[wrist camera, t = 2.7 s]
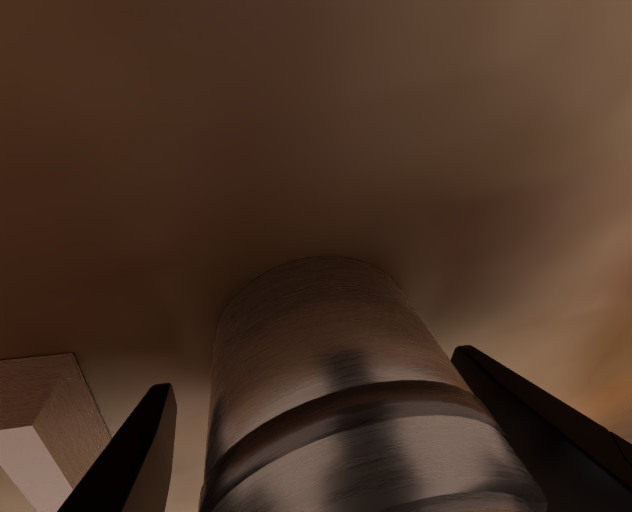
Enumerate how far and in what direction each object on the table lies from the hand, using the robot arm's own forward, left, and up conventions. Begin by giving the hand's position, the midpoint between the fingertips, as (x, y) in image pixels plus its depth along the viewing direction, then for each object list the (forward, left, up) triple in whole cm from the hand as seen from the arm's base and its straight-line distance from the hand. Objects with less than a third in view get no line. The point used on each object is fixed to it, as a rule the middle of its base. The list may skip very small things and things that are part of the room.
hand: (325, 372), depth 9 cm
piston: (0, 0, -1) cm, 1 cm away
